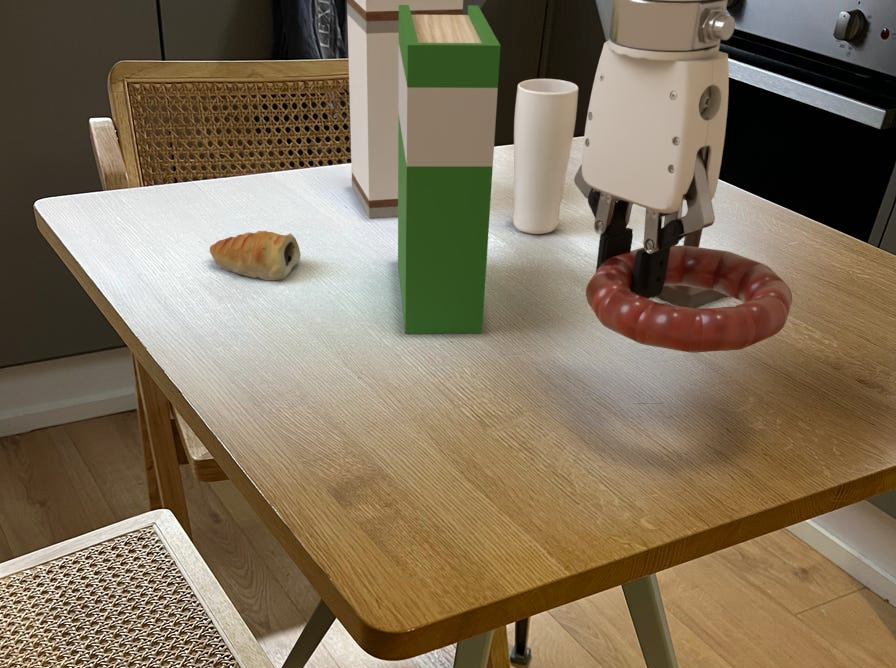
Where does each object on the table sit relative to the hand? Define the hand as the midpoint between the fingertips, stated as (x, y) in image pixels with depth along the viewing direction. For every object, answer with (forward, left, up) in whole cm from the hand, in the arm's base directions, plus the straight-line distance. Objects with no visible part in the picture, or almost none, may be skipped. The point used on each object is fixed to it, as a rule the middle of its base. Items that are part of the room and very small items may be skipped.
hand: (627, 287), depth 78 cm
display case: (+51, -16, -10) cm, 54 cm away
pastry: (+42, +10, -10) cm, 44 cm away
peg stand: (+12, -24, -9) cm, 28 cm away
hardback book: (+25, -1, -10) cm, 27 cm away
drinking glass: (+34, -23, -10) cm, 42 cm away
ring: (-6, 0, +1) cm, 6 cm away
